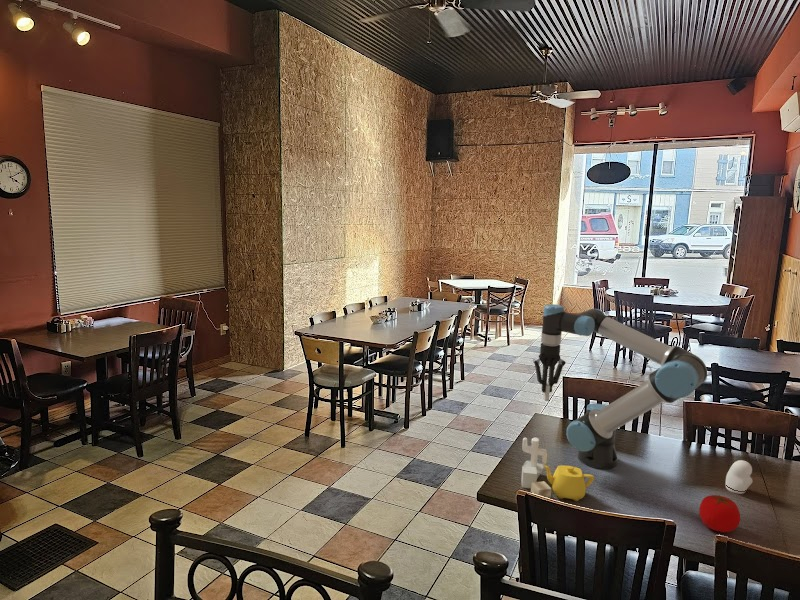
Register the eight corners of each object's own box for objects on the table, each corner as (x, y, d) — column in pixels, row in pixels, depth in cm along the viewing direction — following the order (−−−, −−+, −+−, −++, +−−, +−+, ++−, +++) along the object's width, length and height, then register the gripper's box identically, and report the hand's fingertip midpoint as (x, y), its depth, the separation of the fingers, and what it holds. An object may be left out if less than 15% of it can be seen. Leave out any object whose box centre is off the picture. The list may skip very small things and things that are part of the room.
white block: (534, 481, 198) (536, 467, 196) (535, 489, 193) (537, 474, 192) (521, 480, 198) (522, 465, 197) (521, 487, 194) (523, 472, 192)
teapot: (540, 498, 187) (542, 470, 185) (540, 482, 197) (542, 456, 195) (593, 506, 182) (596, 478, 180) (590, 490, 193) (593, 463, 191)
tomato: (700, 533, 169) (705, 503, 167) (694, 513, 180) (698, 484, 178) (741, 542, 165) (746, 512, 163) (732, 520, 176) (737, 492, 174)
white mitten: (741, 497, 190) (746, 466, 188) (720, 487, 197) (724, 457, 195) (752, 492, 194) (757, 462, 191) (731, 482, 200) (736, 453, 198)
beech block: (543, 493, 190) (544, 481, 189) (550, 501, 185) (551, 488, 184) (530, 495, 188) (531, 482, 188) (537, 503, 184) (538, 490, 183)
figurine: (543, 482, 197) (546, 445, 194) (518, 476, 201) (520, 439, 198) (547, 474, 203) (550, 438, 200) (523, 468, 207) (525, 432, 205)
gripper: (563, 341, 213) (558, 396, 217) (531, 340, 212) (527, 396, 217) (570, 346, 205) (565, 403, 210) (537, 346, 205) (532, 403, 209)
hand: (545, 399), depth 213 cm, fingers closed
